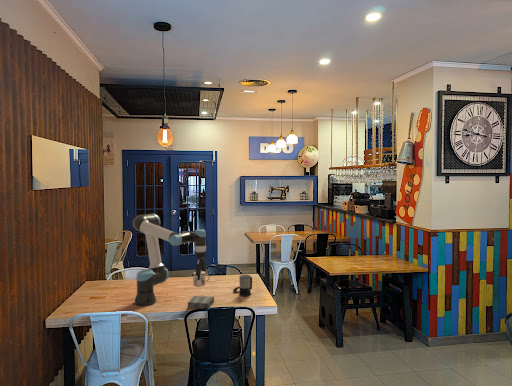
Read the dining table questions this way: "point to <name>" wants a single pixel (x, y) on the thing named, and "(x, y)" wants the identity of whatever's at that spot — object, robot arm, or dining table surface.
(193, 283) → the teacup with lid
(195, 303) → the grey stand
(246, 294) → the milk frother
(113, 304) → the dining table surface
